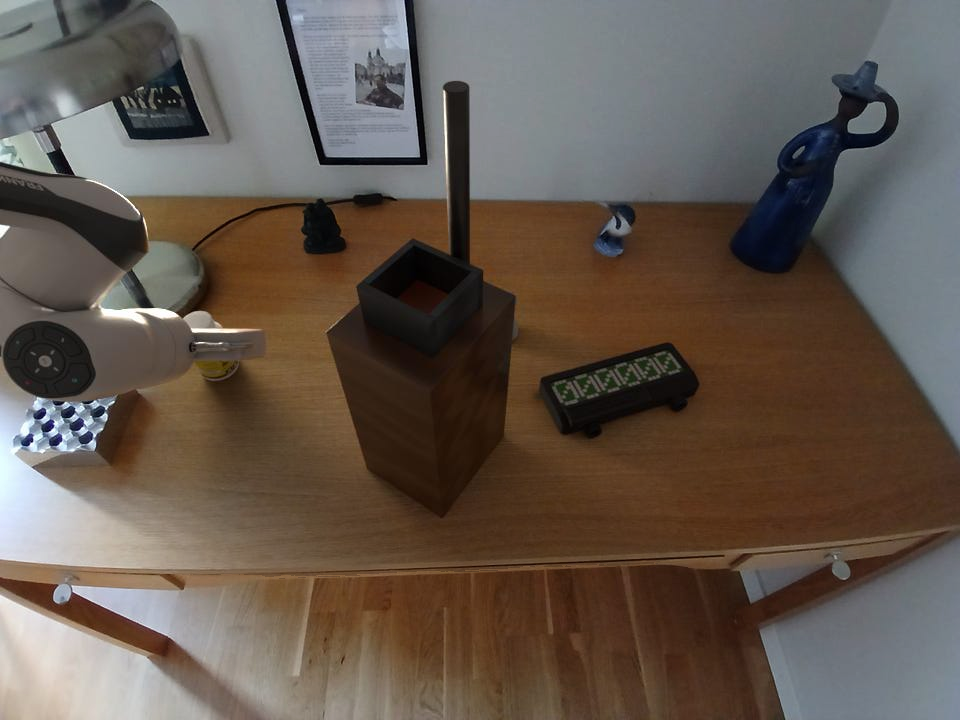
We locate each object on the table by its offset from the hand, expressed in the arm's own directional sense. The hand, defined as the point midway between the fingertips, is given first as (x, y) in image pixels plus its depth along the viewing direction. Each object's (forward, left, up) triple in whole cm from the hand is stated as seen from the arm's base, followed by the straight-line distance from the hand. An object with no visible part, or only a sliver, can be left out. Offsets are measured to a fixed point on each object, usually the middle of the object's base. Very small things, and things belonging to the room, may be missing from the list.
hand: (208, 339), depth 78 cm
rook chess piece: (+42, -6, -6) cm, 43 cm away
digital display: (+54, -22, -6) cm, 58 cm away
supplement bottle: (0, -1, -6) cm, 6 cm away
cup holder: (+27, -23, -5) cm, 36 cm away
